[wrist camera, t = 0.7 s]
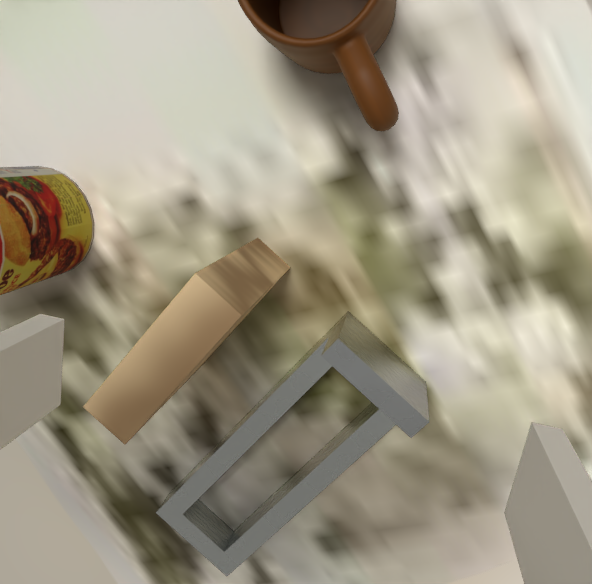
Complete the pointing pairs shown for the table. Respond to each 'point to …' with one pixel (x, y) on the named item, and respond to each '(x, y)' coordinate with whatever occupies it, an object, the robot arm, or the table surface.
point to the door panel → (184, 337)
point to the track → (325, 464)
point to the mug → (334, 44)
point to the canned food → (40, 225)
